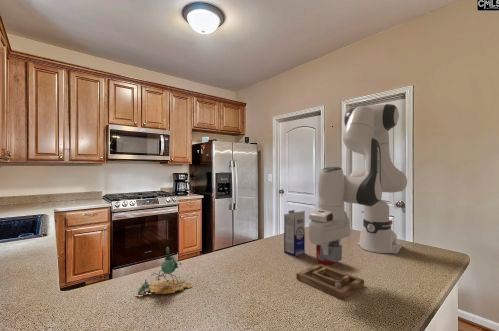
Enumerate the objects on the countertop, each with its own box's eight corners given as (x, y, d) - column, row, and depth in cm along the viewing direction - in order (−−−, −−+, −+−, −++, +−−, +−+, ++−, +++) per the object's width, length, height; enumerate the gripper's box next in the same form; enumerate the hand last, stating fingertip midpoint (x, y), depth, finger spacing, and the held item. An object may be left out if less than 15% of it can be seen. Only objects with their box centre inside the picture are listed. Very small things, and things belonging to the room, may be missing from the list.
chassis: (319, 268, 97) (319, 261, 97) (363, 285, 83) (363, 276, 83) (296, 278, 88) (296, 270, 88) (341, 299, 75) (341, 289, 75)
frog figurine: (137, 286, 83) (143, 242, 84) (192, 285, 87) (197, 243, 88) (132, 300, 74) (138, 250, 74) (193, 299, 78) (198, 252, 79)
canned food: (337, 265, 101) (337, 238, 101) (316, 263, 102) (316, 237, 102) (334, 258, 108) (334, 233, 108) (315, 257, 110) (315, 232, 110)
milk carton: (294, 256, 110) (294, 212, 110) (283, 252, 115) (283, 210, 116) (304, 253, 115) (305, 210, 115) (293, 249, 120) (293, 208, 120)
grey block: (326, 255, 90) (326, 239, 90) (341, 259, 85) (341, 242, 85) (320, 257, 87) (320, 240, 87) (335, 262, 83) (335, 244, 83)
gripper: (339, 209, 96) (338, 245, 95) (305, 214, 83) (305, 256, 82) (354, 211, 91) (354, 249, 90) (321, 217, 78) (321, 261, 77)
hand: (330, 252), depth 86 cm, fingers closed on grey block, 4 cm apart
